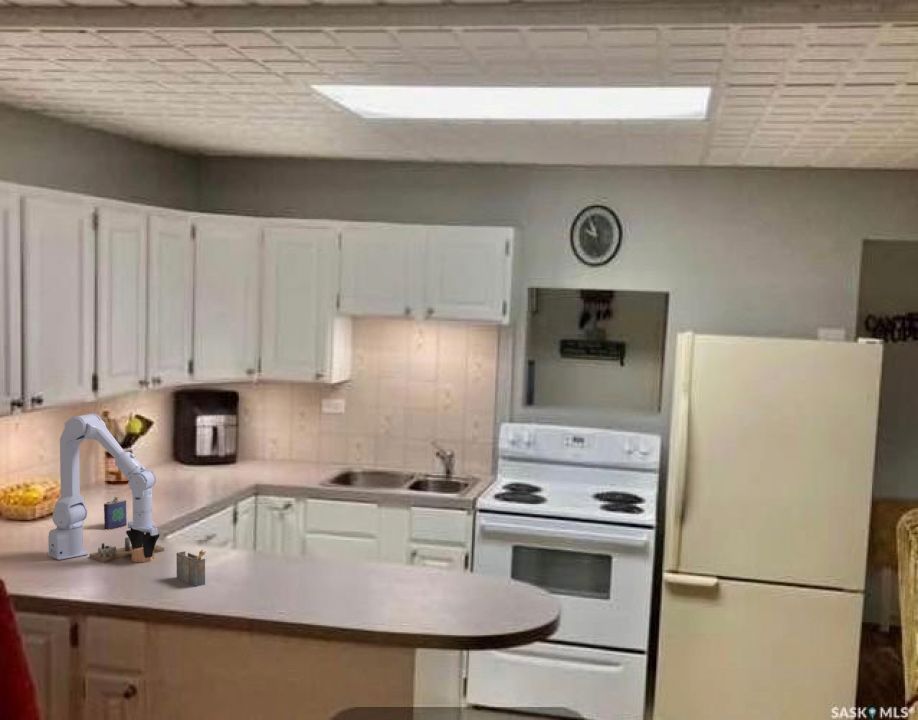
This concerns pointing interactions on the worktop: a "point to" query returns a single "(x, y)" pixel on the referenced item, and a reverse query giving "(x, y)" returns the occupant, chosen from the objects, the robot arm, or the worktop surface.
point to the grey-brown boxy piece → (191, 568)
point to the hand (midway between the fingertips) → (142, 555)
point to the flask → (115, 514)
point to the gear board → (117, 552)
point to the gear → (140, 555)
